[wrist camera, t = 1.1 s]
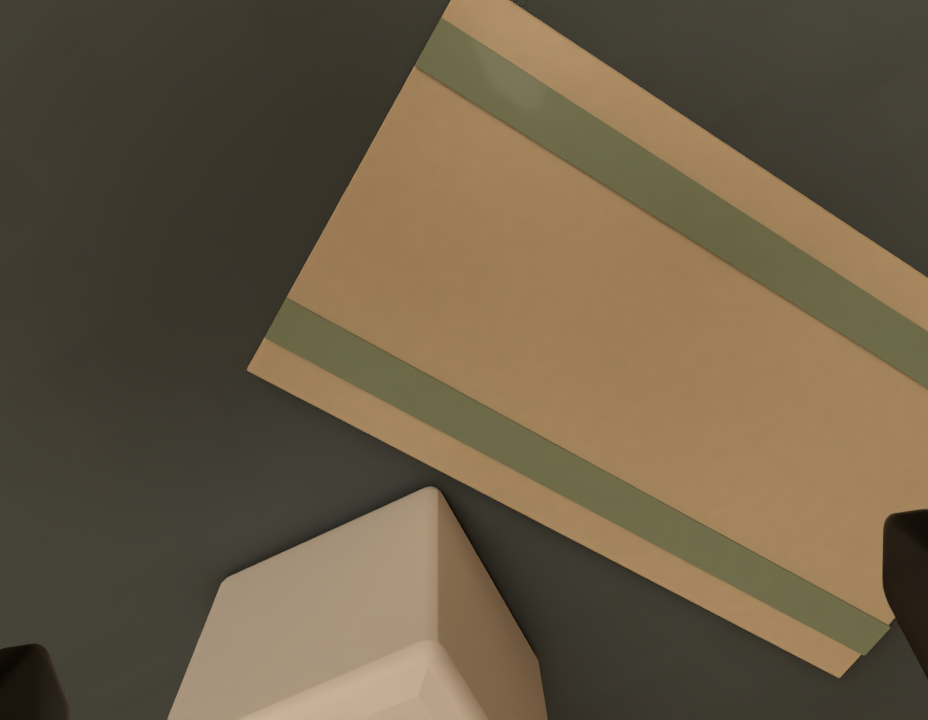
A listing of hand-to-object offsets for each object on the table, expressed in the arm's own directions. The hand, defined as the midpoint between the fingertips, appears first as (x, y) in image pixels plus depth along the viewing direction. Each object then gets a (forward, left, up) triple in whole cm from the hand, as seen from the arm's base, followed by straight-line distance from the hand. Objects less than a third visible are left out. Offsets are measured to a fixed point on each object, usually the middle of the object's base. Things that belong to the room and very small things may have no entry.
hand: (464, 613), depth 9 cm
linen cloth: (-7, -1, -14) cm, 15 cm away
